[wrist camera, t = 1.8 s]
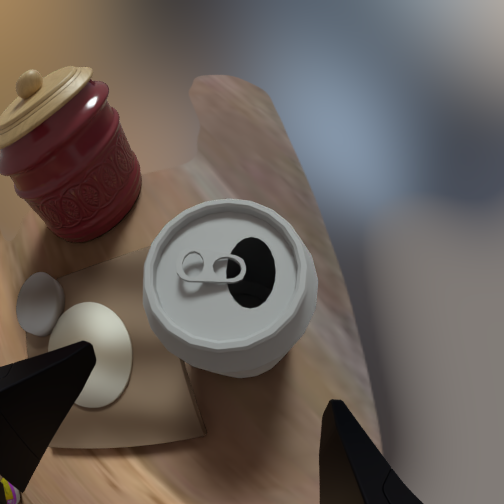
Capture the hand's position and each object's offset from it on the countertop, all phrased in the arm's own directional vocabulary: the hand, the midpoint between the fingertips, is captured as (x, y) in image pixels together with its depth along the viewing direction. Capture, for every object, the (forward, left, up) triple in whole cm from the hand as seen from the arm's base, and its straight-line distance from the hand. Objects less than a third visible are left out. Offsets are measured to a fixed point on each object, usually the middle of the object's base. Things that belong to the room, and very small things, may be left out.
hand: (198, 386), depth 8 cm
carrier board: (+5, +11, -11) cm, 16 cm away
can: (+4, -2, -11) cm, 12 cm away
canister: (+23, +10, -11) cm, 27 cm away
